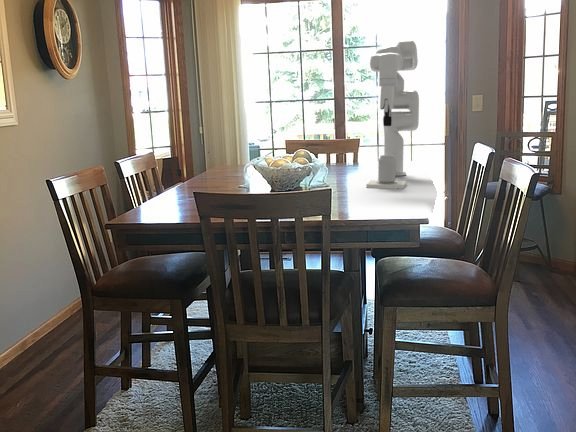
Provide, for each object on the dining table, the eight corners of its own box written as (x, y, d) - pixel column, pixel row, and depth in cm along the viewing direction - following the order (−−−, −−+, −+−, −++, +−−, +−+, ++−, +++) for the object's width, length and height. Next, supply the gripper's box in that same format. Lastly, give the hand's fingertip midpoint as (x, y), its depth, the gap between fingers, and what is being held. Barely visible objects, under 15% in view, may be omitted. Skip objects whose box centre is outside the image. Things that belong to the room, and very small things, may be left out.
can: (396, 183, 268) (396, 156, 266) (379, 183, 268) (379, 156, 266) (394, 181, 275) (394, 154, 273) (377, 181, 275) (377, 154, 273)
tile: (371, 183, 280) (371, 180, 280) (406, 184, 276) (406, 181, 275) (366, 187, 268) (366, 184, 268) (403, 188, 263) (403, 184, 263)
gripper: (381, 83, 271) (381, 125, 275) (376, 82, 257) (376, 126, 261) (398, 82, 269) (398, 124, 273) (394, 82, 255) (394, 126, 259)
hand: (387, 125), depth 267 cm, fingers closed
